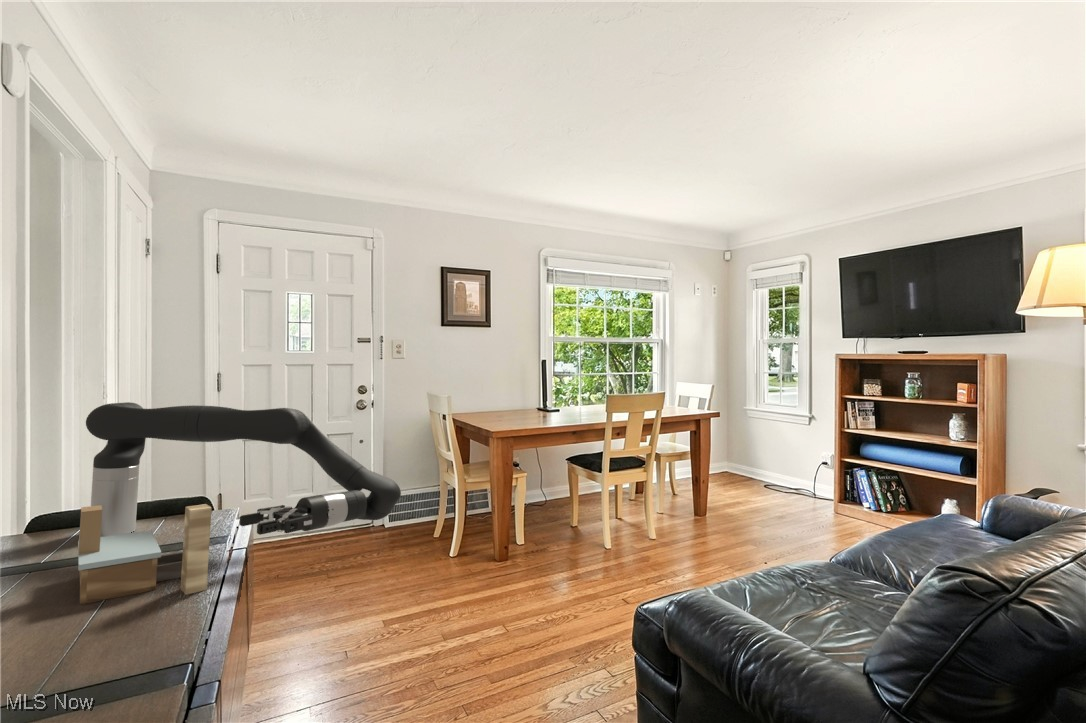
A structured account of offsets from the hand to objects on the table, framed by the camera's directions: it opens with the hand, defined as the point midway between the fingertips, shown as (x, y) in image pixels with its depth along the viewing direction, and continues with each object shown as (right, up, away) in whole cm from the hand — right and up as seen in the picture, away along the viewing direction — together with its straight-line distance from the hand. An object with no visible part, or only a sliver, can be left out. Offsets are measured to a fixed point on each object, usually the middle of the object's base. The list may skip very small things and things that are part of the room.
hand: (248, 525), depth 109 cm
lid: (-23, -3, -6) cm, 23 cm away
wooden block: (-7, -10, -8) cm, 14 cm away
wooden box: (-20, -10, -4) cm, 23 cm away
